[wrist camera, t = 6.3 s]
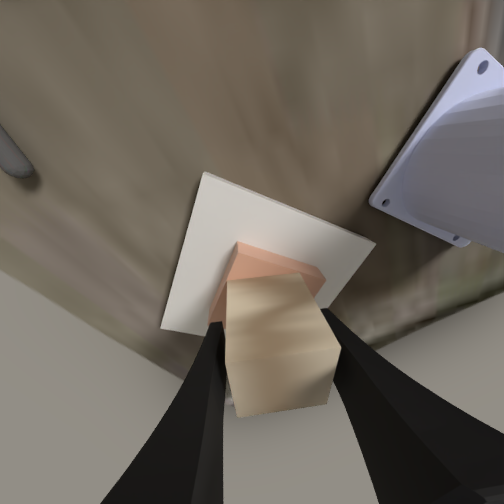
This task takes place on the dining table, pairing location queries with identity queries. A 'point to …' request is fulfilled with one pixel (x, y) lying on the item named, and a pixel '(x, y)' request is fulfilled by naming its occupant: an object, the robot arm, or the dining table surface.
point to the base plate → (259, 229)
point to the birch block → (277, 345)
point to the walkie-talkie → (13, 158)
